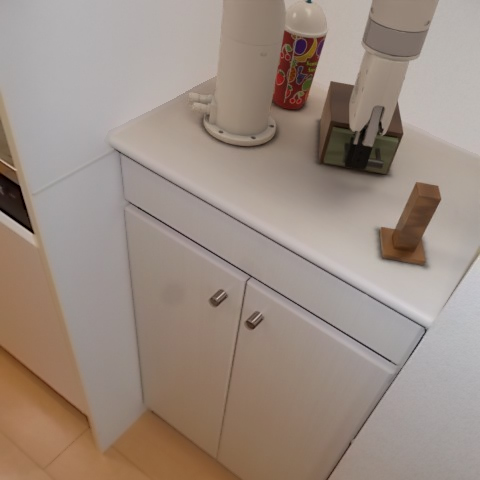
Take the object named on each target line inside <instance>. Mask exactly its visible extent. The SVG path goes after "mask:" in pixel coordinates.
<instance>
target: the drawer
mask: <svg viewBox="0 0 480 480" xmlns="http://www.w3.org/2000/svg"><path fill="white" fill-rule="evenodd" d="M351 137H355V136H353V131H352V130H349V129H347V128H344V127H338V126H334V127H333V129H332V132H331V136H330V139H329V143H328V146H327V150H326V153H325V157H324V163H329V164H334V165H333V166H335V165H340V166H339V167H341V166H345V157H346V153H347V150H348V146H349V143H350V139H351ZM397 145H398V138H394V137H392V136H388V135H383V136H380V134H377V136H376V138H375V141H374V144H373V148H372V151H371V154H370V157H369V160H368V163H367V166H366V168H365V169H363V170H368V171H367V172H369V171H374V172H379V173H378V174H380V173H385V174H384V175H386V172H387V170H388V167H389V165H390V162H391V160H392V157H393V155H394V152H395V150H396V147H397ZM324 163H323V164H324ZM329 164H328V165H329ZM363 170H362V171H363ZM374 172H373V173H374Z"/></svg>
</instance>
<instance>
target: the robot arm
mask: <svg viewBox="0 0 480 480" xmlns="http://www.w3.org/2000/svg"><path fill="white" fill-rule="evenodd" d="M439 1H440V0H371V4H370V8H369V12H368V16H367V20H366V24H365V28H364V31H363V35H362V38H361V46H362V48H363V50H364V53H363V56H362V59H361V62H360V66H359V69H358V72H357V76H356V79H355V81H354V84H353V85H354V88H353V91H352V95H351V98H350V103H349V122H350V128H351V130H352V131H353V136H355V137H351V139H350V143H349V146H348V150H347V153H346V157H345V166H346V167H351V168H350V169H352V168H357V169H356V170H358V169H365V168H366V166H367V163H368V160H369V157H370V154H371V151H372V148H373V144H374V141H375V138H376V136H377V133H378V130H379V133H380V136H383V135H384V134H386V132H387V130H388V127H389V125H390V122H391V119H392V116H393V113H394V110H395V107H396V104H397V101H398V102H399V98H400V94H401V91H402V87H403V84H404V82H405V79H406V74H407V71H408V67H409V65H410V62H411V61H414V60H417V59H418V58H419V57H420V56H421V53H422V50H423V48H424V44H425V41H426V38H427V36H428V32H429V30H430V27H431V25H432V21H433V19H434V16H435V12H436V10H437V7H438V4H439ZM286 11H287V10H286V3H285V0H222V11H221V12H222V14H221V23H220V24H221V25H220V39H219V49H218V58H217V59H218V61H217V69H216V70H217V71H216V79H215V80H216V81H215V89H214V91H213V94H212V93H207V95H205V94H200V93H197V92H192V91H189V93H188V99H187V103H188V105H193V106H192V112H198V113H204V115H203V127H204V128H205V130H206V131H207V132H208V133H209V135H211V136H212V137H213V138H215V139H217V140H219V141H220V142H224V143H227V144H229V145H234V146H243V147H253V146H259V145H262V144H265V143H268V142H269V141H270V140H272V139H273V137H274V136H275V134H276V131H277V123H276V121H275V119H274V117H273V116H272V115H271V114H270V113H271V108H272V102H273V97H274V96H273V92H274V86H275V81H276V75H277V70H278V64H279V59H280V53H281V48H282V42H283V35H284V30H285V23H286ZM346 167H345V168H346Z"/></svg>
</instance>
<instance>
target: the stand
mask: <svg viewBox="0 0 480 480" xmlns="http://www.w3.org/2000/svg"><path fill="white" fill-rule="evenodd" d="M441 201H442V195H441V191H440V187H439V185H437V184H430V183H425V182H419V181H416V182H415V184H414V186H413V188H412V190H411V192H410V195H409V197H408V199H407V201H406V204H405V205H404V208H403V210H402V212H401V214H400V217H399V219H398V221H397V223H396V225H395V228H391V227H384V226H380V229H379V238H380V239H379V240H380V250H381V251H380V252H381V257H382V259H385V260H391V261H397V262H403V263H408V264H409V263H410V264H415V265H420V266H425V264H426V262H427V260H426V254H425V249H424V244H423V243H424V242H423V236H424V234H425V232H426V230H427V228H428V227H429V224H430V222H431V220H432V218H433V217H434V215H435V213H436V211H437V209H438V208H439V206H440V203H441Z"/></svg>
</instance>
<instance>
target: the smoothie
mask: <svg viewBox="0 0 480 480" xmlns="http://www.w3.org/2000/svg"><path fill="white" fill-rule="evenodd" d="M328 33H329V26H328V24H327V18H326V15H325V13H324V11H323V9H322V7H321V6H320V5H319V4H317V2H314V1H312V0H299V1H296V2H294V3H293V4H291V5H290V6H289V7H288V8H287V10H286V23H285V30H284V35H283V42H282V48H281V53H280V59H279V64H278V70H277V75H276V81H275V86H274V92H273V97H272V100H273V102H274V103H275V104H276V105H277V106H279V107H281V108H284V109H287V110H298V109H300V108H302V107H303V105H304V104H305V102H306V101H308V98H309V94H310V91H311V88H312V85H313V81H314V78H315V74H316V71H317V68H318V64H319V61H320V58H321V54H322V51H323V48H324V44H325V42H326V37H327V34H328Z"/></svg>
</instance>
